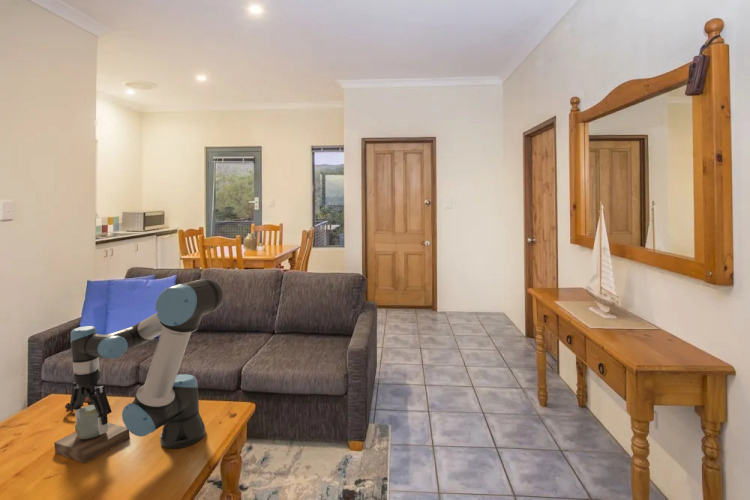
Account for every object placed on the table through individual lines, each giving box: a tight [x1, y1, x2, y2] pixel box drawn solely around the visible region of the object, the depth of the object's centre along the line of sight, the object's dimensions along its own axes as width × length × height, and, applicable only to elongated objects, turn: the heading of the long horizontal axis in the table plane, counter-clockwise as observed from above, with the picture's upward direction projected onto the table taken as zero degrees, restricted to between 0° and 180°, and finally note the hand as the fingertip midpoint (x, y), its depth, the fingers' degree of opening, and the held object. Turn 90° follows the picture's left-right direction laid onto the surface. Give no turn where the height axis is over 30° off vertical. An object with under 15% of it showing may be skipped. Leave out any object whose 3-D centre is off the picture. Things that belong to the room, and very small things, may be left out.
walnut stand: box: [53, 422, 131, 464], centre depth 147 cm, size 16×16×4 cm
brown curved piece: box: [64, 397, 94, 413], centre depth 174 cm, size 12×10×8 cm
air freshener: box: [74, 405, 100, 439], centre depth 146 cm, size 11×8×10 cm
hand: (92, 429), depth 147 cm, fingers open, 12 cm apart
